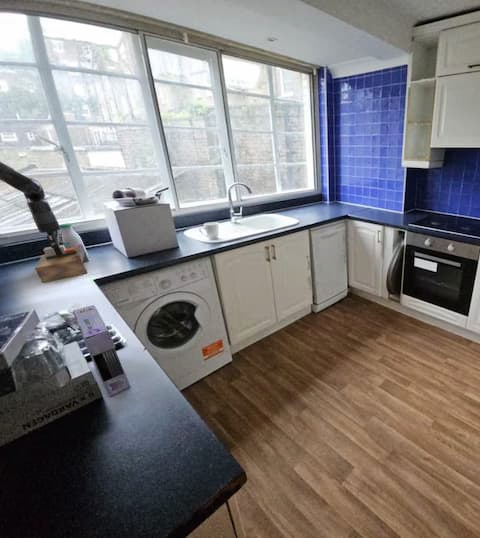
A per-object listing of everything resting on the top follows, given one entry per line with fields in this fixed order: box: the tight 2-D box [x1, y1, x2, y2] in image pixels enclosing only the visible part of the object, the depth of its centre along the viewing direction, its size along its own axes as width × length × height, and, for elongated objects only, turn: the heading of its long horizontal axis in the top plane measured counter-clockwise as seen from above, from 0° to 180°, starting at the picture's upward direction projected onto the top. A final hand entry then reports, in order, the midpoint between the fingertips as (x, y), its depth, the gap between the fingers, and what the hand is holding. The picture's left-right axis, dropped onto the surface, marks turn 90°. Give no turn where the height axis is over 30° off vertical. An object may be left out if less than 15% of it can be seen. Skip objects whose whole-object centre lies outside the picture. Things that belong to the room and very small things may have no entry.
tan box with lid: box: [34, 244, 90, 284], centre depth 147 cm, size 16×24×10 cm, turn 39°
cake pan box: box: [72, 304, 131, 398], centre depth 74 cm, size 19×5×18 cm, turn 48°
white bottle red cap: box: [43, 244, 77, 259], centre depth 147 cm, size 11×5×5 cm, turn 129°
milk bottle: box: [59, 222, 90, 258], centre depth 161 cm, size 8×8×20 cm
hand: (60, 252), depth 147 cm, fingers open, 8 cm apart
